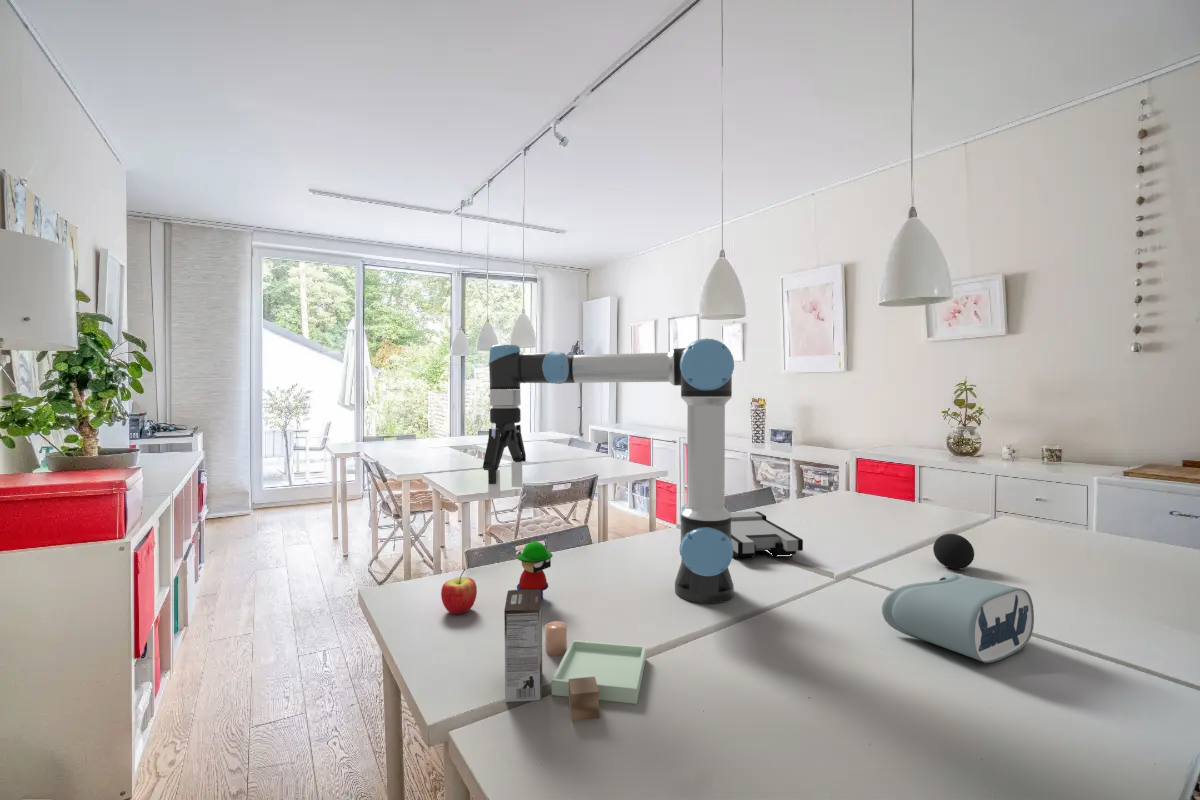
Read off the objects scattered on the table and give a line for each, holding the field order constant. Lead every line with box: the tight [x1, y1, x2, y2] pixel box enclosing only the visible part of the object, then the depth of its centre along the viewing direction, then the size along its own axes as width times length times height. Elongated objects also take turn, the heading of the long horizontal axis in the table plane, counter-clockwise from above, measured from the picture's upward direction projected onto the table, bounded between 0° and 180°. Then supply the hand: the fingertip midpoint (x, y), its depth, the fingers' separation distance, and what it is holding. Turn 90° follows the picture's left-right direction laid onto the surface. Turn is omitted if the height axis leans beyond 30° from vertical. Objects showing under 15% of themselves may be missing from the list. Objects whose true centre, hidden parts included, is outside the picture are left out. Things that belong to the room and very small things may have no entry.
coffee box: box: [503, 589, 543, 703], centre depth 95 cm, size 9×6×16 cm
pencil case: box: [881, 572, 1035, 664], centre depth 112 cm, size 22×19×13 cm
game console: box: [730, 511, 804, 560], centre depth 177 cm, size 21×32×8 cm, turn 8°
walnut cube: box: [568, 677, 600, 722], centre depth 88 cm, size 4×4×4 cm
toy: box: [516, 540, 554, 600], centre depth 133 cm, size 9×9×15 cm
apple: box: [440, 568, 478, 615], centre depth 127 cm, size 8×8×10 cm
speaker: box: [932, 533, 975, 570], centre depth 155 cm, size 10×10×10 cm
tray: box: [551, 639, 647, 705], centre depth 99 cm, size 15×15×3 cm
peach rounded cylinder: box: [544, 620, 568, 656], centre depth 108 cm, size 4×4×5 cm
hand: (506, 491), depth 132 cm, fingers open, 13 cm apart
